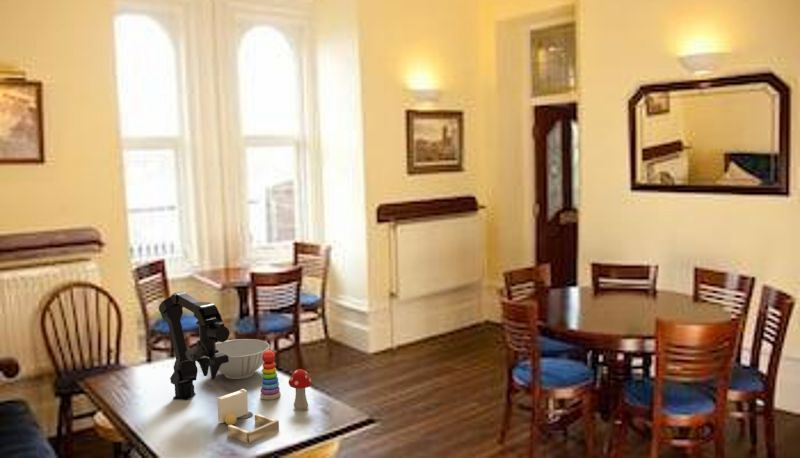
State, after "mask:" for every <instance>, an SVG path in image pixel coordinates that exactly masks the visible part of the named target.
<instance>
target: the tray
mask: <svg viewBox="0 0 800 458" xmlns="http://www.w3.org/2000/svg"><path fill="white" fill-rule="evenodd" d="M254 424H255V425H256V426H258V427H257V428H255V429H254V428H253V429H252V430H250V431H249V430H246V429H244V428H240V427H238V426H235V425H234V424H233V425H228V424H227V436H228V437H231V438H233V439H236V440H238V441H241V442H244V443H246V444H251V443H252V444H253V443H255V442H257V441H259V440H261V439H263V438H265V437H268V436H270V435H272V434H274V433H276V432H279V431H280V420H278V419H275V418H271V417H269V416H266V415H263V414H259V413H255V414H254Z"/></svg>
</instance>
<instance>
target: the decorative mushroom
mask: <svg viewBox="0 0 800 458" xmlns="http://www.w3.org/2000/svg"><path fill="white" fill-rule="evenodd" d="M312 383H313V382H312V378H311V377H310V376H309V374H308V372H307V371H306V370H305V369H302V368H298V369H296V370H294V371H293V372H292V374H291V376H290V377H289V379H288V385H289V387H291V388H294V389H295V395H294V396H295V398H294V402H293V407H294V409H295V410H296V411H299V412H304V411H306V410H307V409H308V407H309V403H308V401H307V400H308V399H307V394H306V388H309V387H311V385H312Z"/></svg>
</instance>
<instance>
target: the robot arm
mask: <svg viewBox="0 0 800 458" xmlns="http://www.w3.org/2000/svg"><path fill="white" fill-rule="evenodd" d="M183 309H187V310H188V311H190V312H192V313H193V317H194V318H195V319H196V320H197V321H196V322H195V324H196V325H198V328H199V329H198V334H199V339H198V340H197V341H196V345H194V346H192V347H190V348H189V349H188V345H187V342H186V338H185V334H184V331H183V330H184V329H183V325H182V322H181V321H182V317H183V313H184V310H183ZM158 311H159V313H160V316H161V318H162V320H164V321H165V323H167V326H168V330H169V334H170V338H171V343H172V348H173V352H174V355H175V362H174V364H173V373H172V374H171V376H170V377H169V380H170V384H172V385H174V395H175V396H173V397H172V399H173V400H185V401H188V400H189V399H191V398H193V397H194V396H195V395H196V393H195V384H194V381H197V376H198V371H199V369H198V366H197V363H198V364H199V367H200V369H201V372H202V375H203V376H204V377H207V376H208V373H209V371H210V378H211V380H214V379H216V377H217V374H218V372H219V371H218V370H219V368H220V366H221V364H223V363H227V362H229V356H227V355H226V354H223V353H220V354H216V355H215V353H218V350H217V349H216V344H217V343H220V342H224V341H228V339H229V337H230V330H229V328H228V327H226V326H225V323H224V322H223V319H222V315H221V314H220V311H219V309H218V307H217V305H216V304H215V303H213V302H209V301H201V300H199V299H197V298H195V297H193V296H191V295H189V294H187V292H186V291H178V292H174V293H173V294H171V296H169V297H168V298H166V299H164V300H163V301H161V302H160V304H159V305H158ZM196 362H197V363H196Z"/></svg>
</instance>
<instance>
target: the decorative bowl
mask: <svg viewBox="0 0 800 458" xmlns="http://www.w3.org/2000/svg"><path fill="white" fill-rule="evenodd" d="M270 347H271V346H270V343H268V342H267V341H264V340H261V339H255V338H254V339H252V338H242V339H241V338H238V339H231V340H226V341H224V342H216V349H217V350H218V353H215V355H216V354H220V353H223V354H226V355H227V356H229V362H227V363H223V364H221V366H220V368H219V370H218V372H219V373H221V374H223V375H224V376H225V378H227V379H230V380H241V379H247V378H250V377H252V376H254V373H255V372H256V371H257V370H259V369H260V368H261V367H263V363H265V362H264V361H263V359H262V355H263V353H264V352H265V351H268V350H270Z"/></svg>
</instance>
